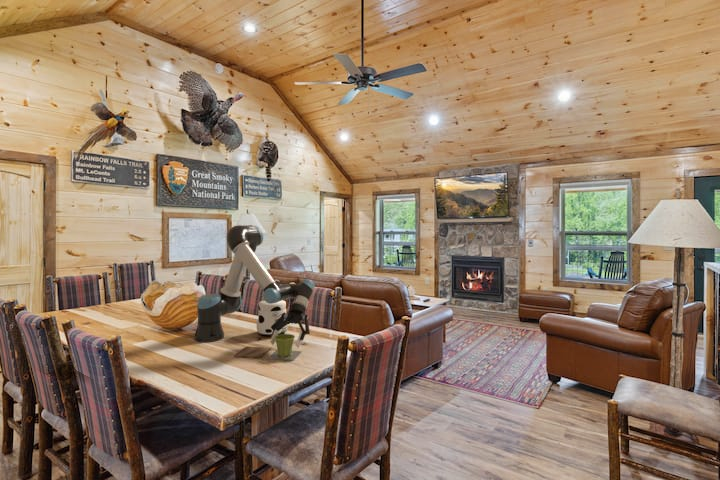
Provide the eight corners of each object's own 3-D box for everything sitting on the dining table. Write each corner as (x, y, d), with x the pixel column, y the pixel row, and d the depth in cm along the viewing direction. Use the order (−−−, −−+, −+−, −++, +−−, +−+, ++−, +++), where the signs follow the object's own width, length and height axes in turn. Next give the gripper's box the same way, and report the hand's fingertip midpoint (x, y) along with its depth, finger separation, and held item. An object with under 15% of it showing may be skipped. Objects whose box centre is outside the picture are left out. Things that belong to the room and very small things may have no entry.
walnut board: (233, 357, 178) (233, 355, 178) (246, 348, 191) (246, 346, 191) (260, 358, 176) (260, 356, 176) (271, 349, 189) (271, 347, 189)
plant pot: (290, 358, 176) (290, 340, 175) (271, 357, 178) (271, 339, 177) (297, 352, 185) (297, 334, 185) (279, 351, 187) (279, 333, 186)
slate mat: (266, 359, 176) (266, 358, 176) (276, 350, 189) (276, 349, 189) (293, 360, 174) (293, 360, 174) (302, 351, 187) (302, 351, 187)
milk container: (288, 336, 212) (288, 304, 211) (256, 338, 208) (256, 306, 207) (286, 328, 229) (286, 298, 228) (256, 330, 224) (256, 299, 224)
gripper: (323, 312, 192) (310, 351, 179) (280, 309, 200) (264, 345, 187) (319, 304, 187) (305, 343, 173) (275, 300, 195) (258, 338, 181)
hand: (284, 344), depth 180 cm, fingers open, 13 cm apart
